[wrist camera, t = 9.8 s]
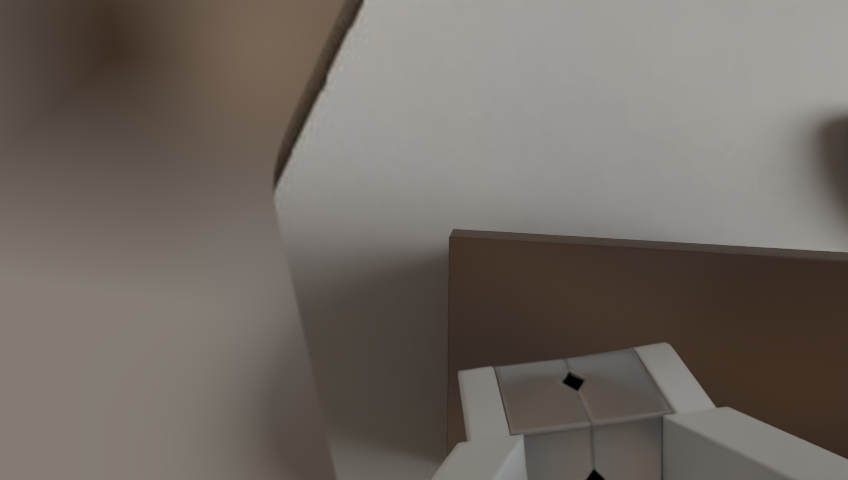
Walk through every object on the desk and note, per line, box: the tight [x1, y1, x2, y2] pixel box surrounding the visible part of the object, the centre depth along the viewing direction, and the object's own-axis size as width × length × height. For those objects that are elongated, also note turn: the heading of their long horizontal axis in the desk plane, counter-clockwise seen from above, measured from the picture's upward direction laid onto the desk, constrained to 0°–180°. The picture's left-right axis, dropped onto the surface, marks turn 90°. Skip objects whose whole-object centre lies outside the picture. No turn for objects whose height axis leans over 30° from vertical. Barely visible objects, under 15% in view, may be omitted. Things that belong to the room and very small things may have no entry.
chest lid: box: [447, 229, 848, 459], centre depth 23 cm, size 12×15×1 cm
